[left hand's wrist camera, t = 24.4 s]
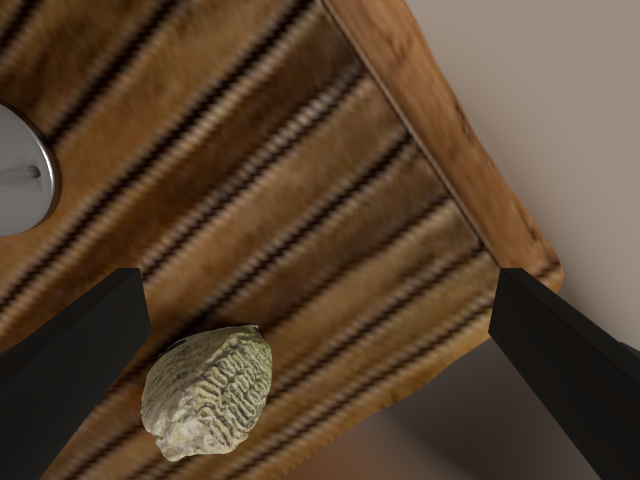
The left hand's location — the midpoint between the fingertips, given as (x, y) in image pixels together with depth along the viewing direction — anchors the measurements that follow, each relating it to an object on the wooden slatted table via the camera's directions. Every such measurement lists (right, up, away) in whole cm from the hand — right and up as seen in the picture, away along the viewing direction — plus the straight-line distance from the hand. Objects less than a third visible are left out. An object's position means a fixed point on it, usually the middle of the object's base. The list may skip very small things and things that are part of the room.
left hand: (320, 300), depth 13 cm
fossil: (-14, -13, +34) cm, 39 cm away
